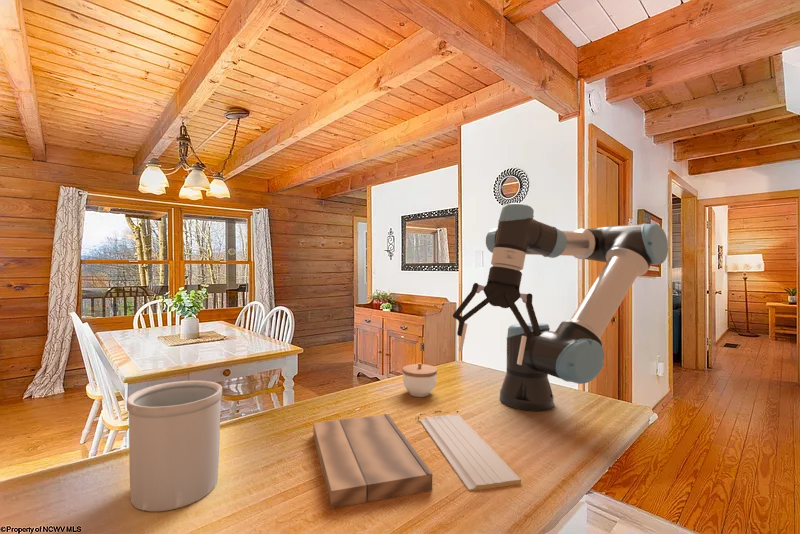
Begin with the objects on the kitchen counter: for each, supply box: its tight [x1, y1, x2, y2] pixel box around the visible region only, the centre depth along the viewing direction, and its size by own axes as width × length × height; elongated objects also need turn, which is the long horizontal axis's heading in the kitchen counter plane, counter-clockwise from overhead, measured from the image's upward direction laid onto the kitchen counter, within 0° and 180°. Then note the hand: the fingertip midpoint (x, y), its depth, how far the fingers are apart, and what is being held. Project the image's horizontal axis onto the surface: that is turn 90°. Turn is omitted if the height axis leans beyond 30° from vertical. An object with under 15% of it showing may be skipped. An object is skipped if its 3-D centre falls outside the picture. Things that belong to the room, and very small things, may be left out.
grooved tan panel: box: [313, 413, 433, 509], centre depth 83 cm, size 18×28×3 cm, turn 18°
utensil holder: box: [126, 380, 223, 512], centre depth 71 cm, size 15×15×18 cm
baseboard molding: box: [415, 410, 522, 492], centre depth 88 cm, size 31×3×12 cm
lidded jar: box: [402, 362, 438, 398], centre depth 123 cm, size 11×11×9 cm
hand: (489, 357), depth 93 cm, fingers open, 13 cm apart
